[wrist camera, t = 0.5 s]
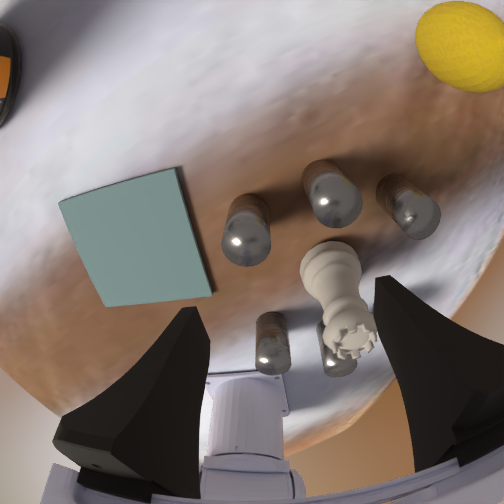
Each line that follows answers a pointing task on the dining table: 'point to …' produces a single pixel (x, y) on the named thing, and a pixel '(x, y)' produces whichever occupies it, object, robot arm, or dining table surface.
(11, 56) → the supplement container
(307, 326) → the dining table surface
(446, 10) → the lemon
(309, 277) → the rook chess piece
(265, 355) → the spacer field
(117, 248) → the mat
